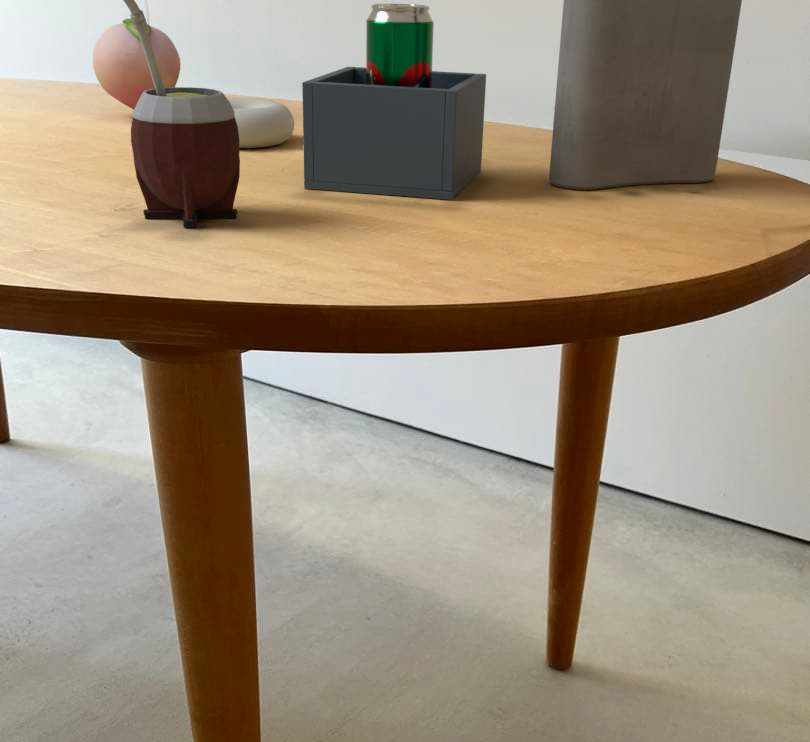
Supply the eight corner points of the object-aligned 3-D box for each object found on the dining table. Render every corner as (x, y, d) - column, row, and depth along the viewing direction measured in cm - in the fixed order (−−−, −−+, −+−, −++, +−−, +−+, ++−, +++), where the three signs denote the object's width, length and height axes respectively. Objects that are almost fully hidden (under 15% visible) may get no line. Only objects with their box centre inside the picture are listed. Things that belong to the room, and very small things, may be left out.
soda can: (433, 168, 90) (439, 4, 85) (422, 179, 86) (427, 8, 80) (373, 164, 91) (375, 2, 85) (358, 175, 87) (359, 5, 81)
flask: (685, 168, 96) (722, -98, 86) (726, 181, 91) (770, -99, 82) (532, 177, 91) (553, -105, 81) (568, 192, 86) (595, -106, 76)
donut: (306, 151, 100) (282, 131, 108) (305, 110, 98) (281, 93, 106) (194, 154, 97) (179, 133, 105) (192, 113, 95) (176, 95, 104)
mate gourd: (242, 205, 79) (231, -30, 72) (243, 232, 72) (231, -26, 65) (135, 206, 78) (114, -33, 71) (126, 232, 72) (101, -28, 64)
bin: (481, 172, 92) (486, 73, 89) (451, 200, 83) (456, 91, 79) (347, 162, 95) (347, 66, 91) (304, 188, 85) (301, 82, 81)
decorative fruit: (89, 112, 116) (78, 6, 111) (166, 109, 119) (158, 6, 115) (111, 125, 109) (100, 13, 104) (192, 121, 112) (185, 12, 107)
